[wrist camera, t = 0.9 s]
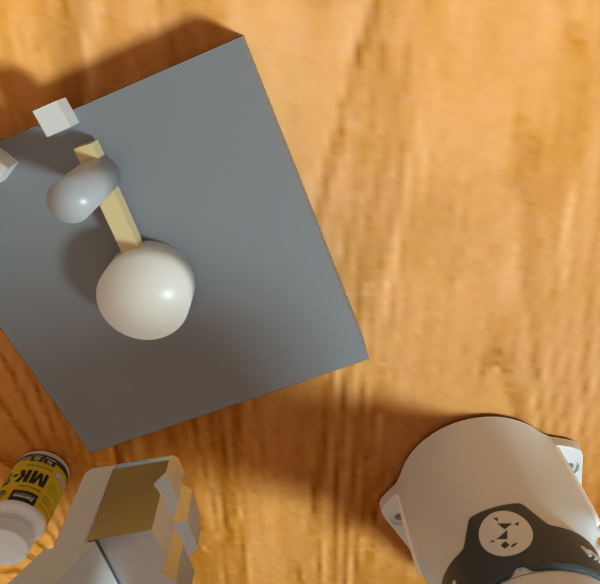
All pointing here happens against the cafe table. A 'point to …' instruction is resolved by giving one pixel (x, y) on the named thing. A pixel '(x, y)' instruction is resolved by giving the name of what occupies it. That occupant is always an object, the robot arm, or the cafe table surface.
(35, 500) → the supplement bottle
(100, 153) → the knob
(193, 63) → the dial plate
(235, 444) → the cafe table surface
